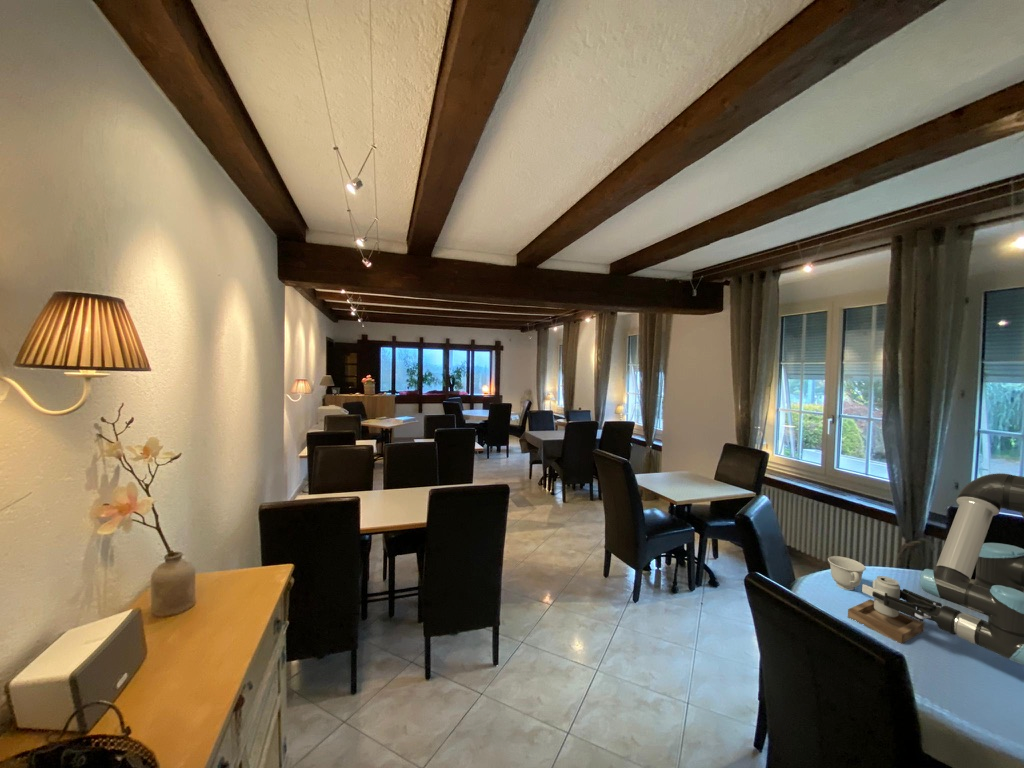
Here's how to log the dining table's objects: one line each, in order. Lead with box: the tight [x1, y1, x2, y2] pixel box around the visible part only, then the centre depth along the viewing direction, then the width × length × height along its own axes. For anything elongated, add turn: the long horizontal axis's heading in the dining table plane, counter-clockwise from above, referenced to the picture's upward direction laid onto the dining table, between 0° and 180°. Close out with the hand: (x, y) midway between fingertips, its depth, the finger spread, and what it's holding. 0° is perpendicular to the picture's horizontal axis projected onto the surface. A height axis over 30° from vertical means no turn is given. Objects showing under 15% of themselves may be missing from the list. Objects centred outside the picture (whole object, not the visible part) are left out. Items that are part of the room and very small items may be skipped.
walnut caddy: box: [847, 599, 925, 645], centre depth 140 cm, size 15×15×3 cm
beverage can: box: [873, 575, 901, 617], centre depth 140 cm, size 6×6×12 cm
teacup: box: [827, 555, 867, 591], centre depth 162 cm, size 12×15×10 cm
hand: (868, 585), depth 144 cm, fingers closed on beverage can, 6 cm apart
